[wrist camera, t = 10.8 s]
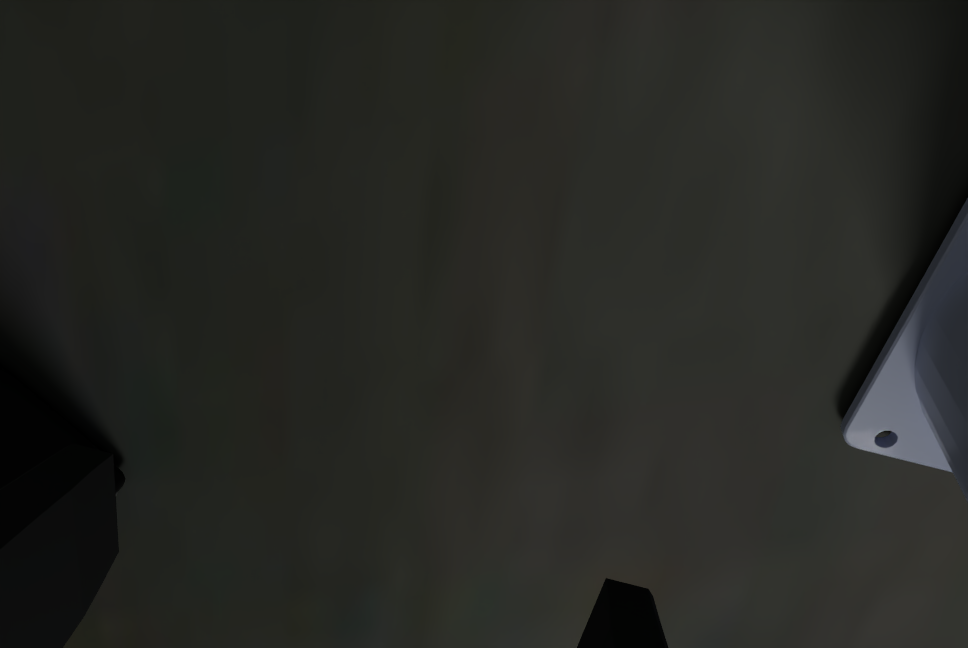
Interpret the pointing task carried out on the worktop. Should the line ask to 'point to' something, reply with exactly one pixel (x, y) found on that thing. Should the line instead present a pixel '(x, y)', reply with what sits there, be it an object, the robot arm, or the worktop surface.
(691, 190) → the worktop surface
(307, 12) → the worktop surface
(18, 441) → the battery charger
